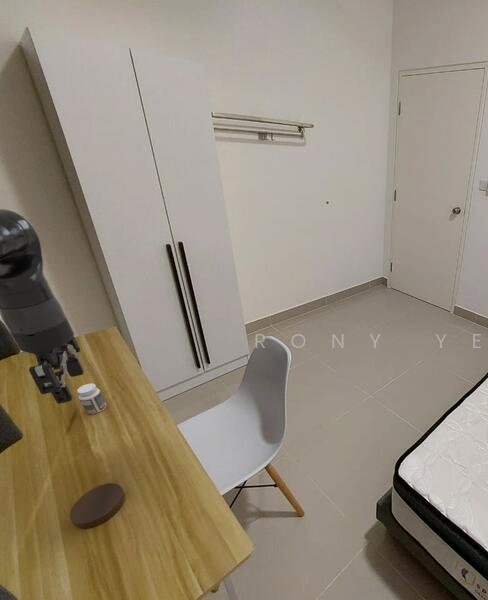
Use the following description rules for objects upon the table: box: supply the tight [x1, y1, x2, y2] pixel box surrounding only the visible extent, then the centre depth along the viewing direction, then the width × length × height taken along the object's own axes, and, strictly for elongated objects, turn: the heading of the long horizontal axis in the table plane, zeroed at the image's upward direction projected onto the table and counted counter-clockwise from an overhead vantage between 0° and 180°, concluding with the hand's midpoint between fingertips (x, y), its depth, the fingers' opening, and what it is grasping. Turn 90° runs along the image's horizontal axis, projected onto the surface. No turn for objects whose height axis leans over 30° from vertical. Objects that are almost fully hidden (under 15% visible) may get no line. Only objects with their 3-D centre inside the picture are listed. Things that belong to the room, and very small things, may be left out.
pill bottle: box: [76, 383, 108, 415], centre depth 97 cm, size 5×5×8 cm
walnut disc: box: [69, 482, 126, 530], centre depth 74 cm, size 9×9×2 cm
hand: (71, 387), depth 68 cm, fingers open, 8 cm apart
